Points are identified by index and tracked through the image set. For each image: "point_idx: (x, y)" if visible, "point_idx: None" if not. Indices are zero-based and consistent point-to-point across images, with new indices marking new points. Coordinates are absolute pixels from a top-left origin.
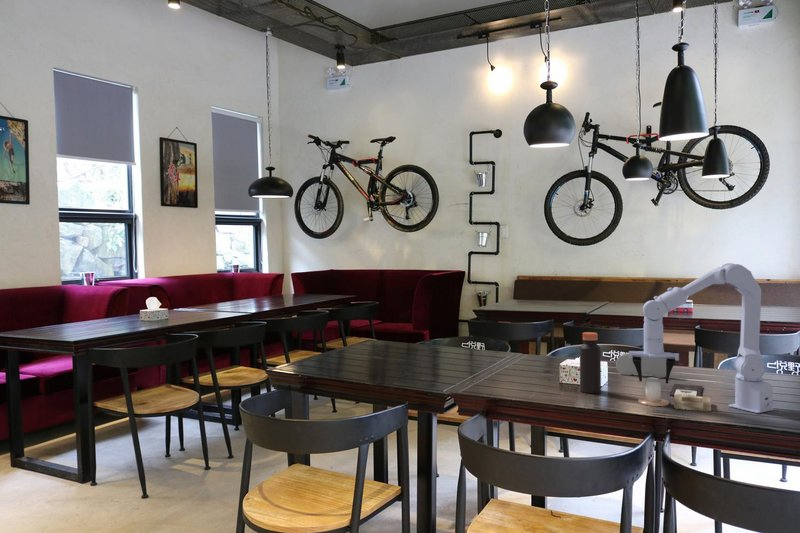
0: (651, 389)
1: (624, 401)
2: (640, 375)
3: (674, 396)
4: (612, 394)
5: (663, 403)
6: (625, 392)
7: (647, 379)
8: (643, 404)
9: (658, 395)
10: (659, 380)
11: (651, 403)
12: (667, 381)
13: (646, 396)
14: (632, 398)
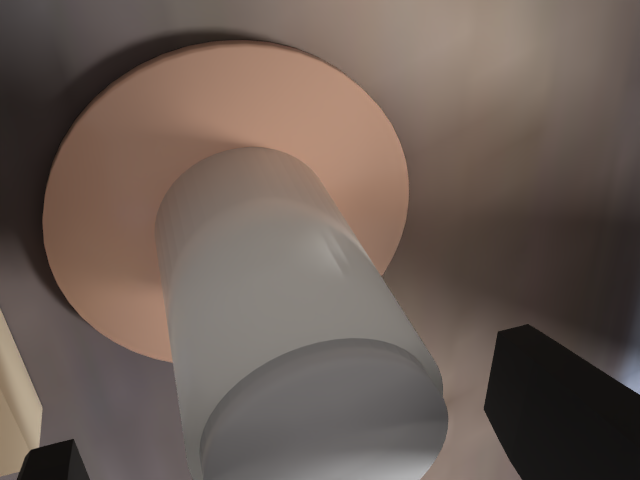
0: (299, 241)
1: (537, 121)
2: (594, 393)
3: (3, 396)
4: (603, 313)
5: (95, 168)
6: None
7: (427, 380)
8: (338, 69)
9: (180, 239)
10: (205, 454)
11: (244, 89)
12: (29, 475)
13: (336, 206)
14: (451, 278)
